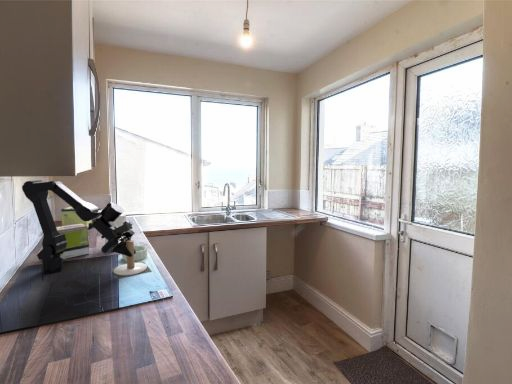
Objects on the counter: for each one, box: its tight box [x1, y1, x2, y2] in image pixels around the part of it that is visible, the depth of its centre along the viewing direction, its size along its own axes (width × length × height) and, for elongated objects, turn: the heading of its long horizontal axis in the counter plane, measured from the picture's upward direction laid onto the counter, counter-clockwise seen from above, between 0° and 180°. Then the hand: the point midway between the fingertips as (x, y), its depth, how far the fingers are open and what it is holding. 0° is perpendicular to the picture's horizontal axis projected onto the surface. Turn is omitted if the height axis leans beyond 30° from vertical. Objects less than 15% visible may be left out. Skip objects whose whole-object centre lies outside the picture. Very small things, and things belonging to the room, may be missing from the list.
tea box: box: [56, 224, 91, 260], centre depth 144 cm, size 15×10×15 cm
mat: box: [110, 261, 153, 280], centre depth 123 cm, size 14×14×1 cm
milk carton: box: [110, 213, 127, 251], centre depth 156 cm, size 9×9×20 cm
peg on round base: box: [114, 239, 148, 276], centre depth 122 cm, size 13×13×12 cm
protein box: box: [60, 206, 93, 229], centre depth 200 cm, size 10×16×16 cm
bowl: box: [121, 245, 148, 262], centre depth 140 cm, size 11×11×4 cm
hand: (133, 254), depth 122 cm, fingers closed on peg on round base, 3 cm apart
